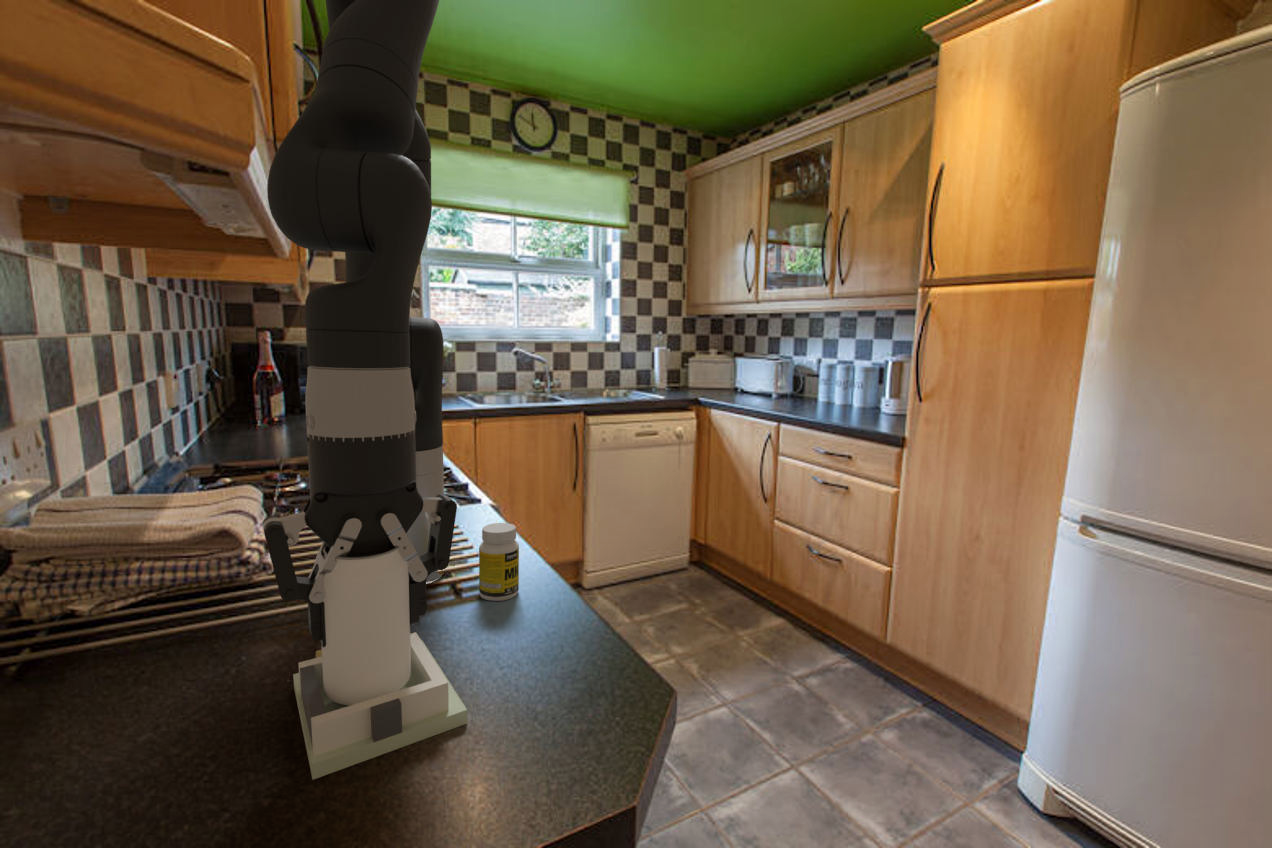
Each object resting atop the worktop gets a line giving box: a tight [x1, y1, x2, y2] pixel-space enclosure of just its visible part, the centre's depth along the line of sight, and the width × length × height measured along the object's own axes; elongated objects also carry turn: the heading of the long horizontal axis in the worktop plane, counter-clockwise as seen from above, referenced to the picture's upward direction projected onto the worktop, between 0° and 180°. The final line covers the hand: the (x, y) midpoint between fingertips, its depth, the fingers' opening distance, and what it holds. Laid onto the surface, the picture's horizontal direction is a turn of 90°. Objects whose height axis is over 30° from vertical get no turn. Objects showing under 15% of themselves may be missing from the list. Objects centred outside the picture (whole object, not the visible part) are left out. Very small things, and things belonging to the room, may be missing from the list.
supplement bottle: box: [478, 522, 520, 602], centre depth 70 cm, size 5×5×8 cm
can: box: [320, 545, 411, 707], centre depth 46 cm, size 6×6×12 cm
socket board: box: [292, 631, 468, 781], centre depth 48 cm, size 13×11×4 cm
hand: (370, 630), depth 46 cm, fingers closed on can, 6 cm apart
